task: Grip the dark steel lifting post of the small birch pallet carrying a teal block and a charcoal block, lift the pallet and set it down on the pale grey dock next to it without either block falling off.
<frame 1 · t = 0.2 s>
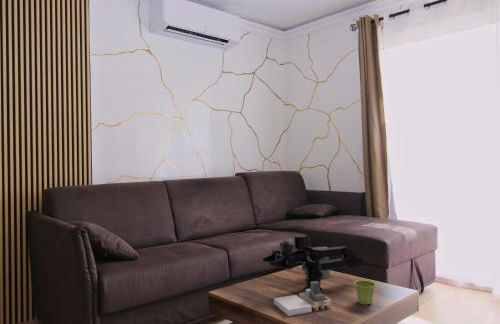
hand: (266, 261, 195), 17 cm above the table, tool horizontal, fingers open, 9 cm apart
dock: (292, 307, 179), on the table
teal block: (311, 296, 187), point 2 cm above the table, touching pallet
charcoal block: (319, 301, 180), point 2 cm above the table, touching pallet
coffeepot: (321, 276, 224), on the table
plant pot: (365, 302, 184), on the table
pallet: (315, 304, 183), on the table, touching charcoal block, teal block
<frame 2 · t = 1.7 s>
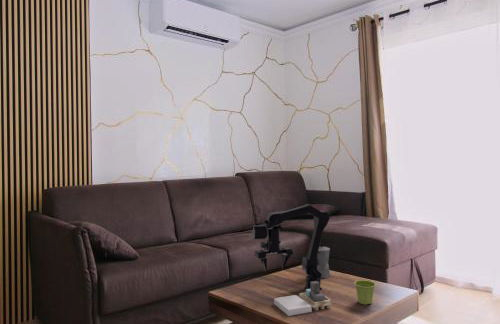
hand: (274, 269, 199), 11 cm above the table, tool pointing down, fingers open, 9 cm apart
nothing on the table moved.
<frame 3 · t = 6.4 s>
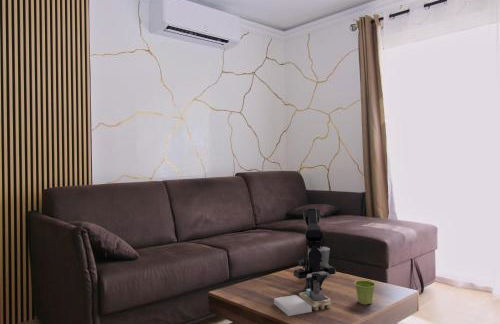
hand: (315, 290, 183), 6 cm above the table, tool pointing down, fingers closed on pallet, 3 cm apart
pallet: (315, 303, 183), on the table, touching charcoal block, gripper, teal block
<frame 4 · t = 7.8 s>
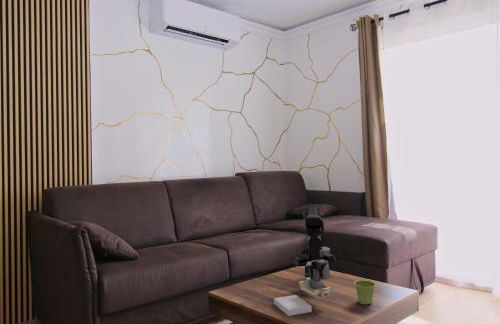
hand: (314, 278, 183), 11 cm above the table, tool pointing down, fingers closed on pallet, 3 cm apart
teal block: (311, 284, 186), point 8 cm above the table, touching pallet
charcoal block: (318, 288, 180), point 8 cm above the table, touching pallet
pallet: (314, 292, 183), point 5 cm above the table, touching charcoal block, gripper, teal block
everything else where it was.
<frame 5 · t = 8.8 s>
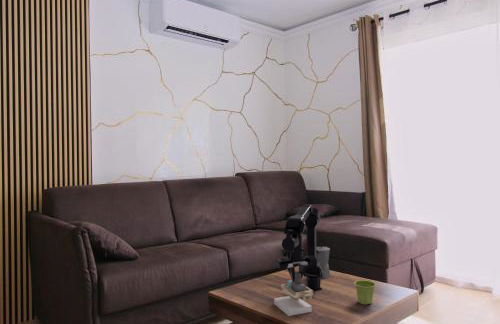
hand: (296, 281, 180), 12 cm above the table, tool pointing down, fingers closed on pallet, 3 cm apart
teal block: (293, 287, 183), point 8 cm above the table, touching pallet
charcoal block: (300, 291, 177), point 8 cm above the table, touching pallet
pallet: (296, 295, 180), point 5 cm above the table, touching charcoal block, gripper, teal block
everything else where it was.
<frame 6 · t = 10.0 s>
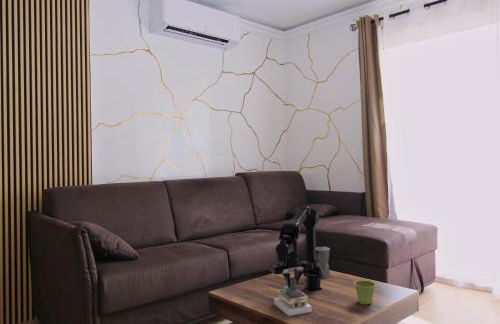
hand: (292, 286, 179), 9 cm above the table, tool pointing down, fingers closed on pallet, 3 cm apart
teal block: (289, 293, 182), point 5 cm above the table, touching pallet
charcoal block: (295, 297, 176), point 5 cm above the table, touching pallet
pallet: (292, 300, 179), point 3 cm above the table, touching charcoal block, gripper, teal block
everything else where it was.
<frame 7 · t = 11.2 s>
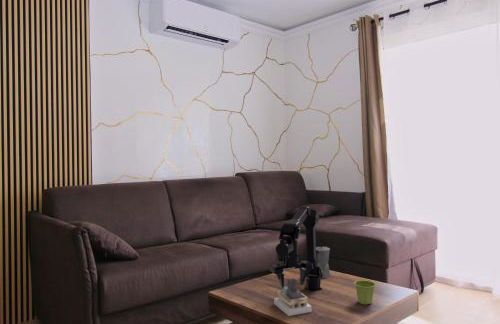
hand: (292, 286, 179), 9 cm above the table, tool pointing down, fingers open, 9 cm apart
pallet: (292, 302, 179), point 2 cm above the table, touching charcoal block, dock, teal block
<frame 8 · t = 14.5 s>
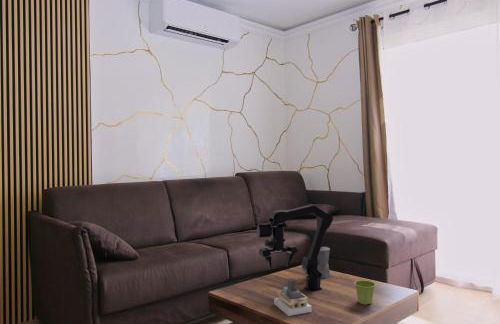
hand: (278, 268, 199), 12 cm above the table, tool pointing down, fingers open, 9 cm apart
nothing on the table moved.
at the end: pallet 0.1 cm from the target spot, point 2.5 cm above the table; teal block point 5.0 cm above the table; charcoal block point 5.0 cm above the table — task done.
